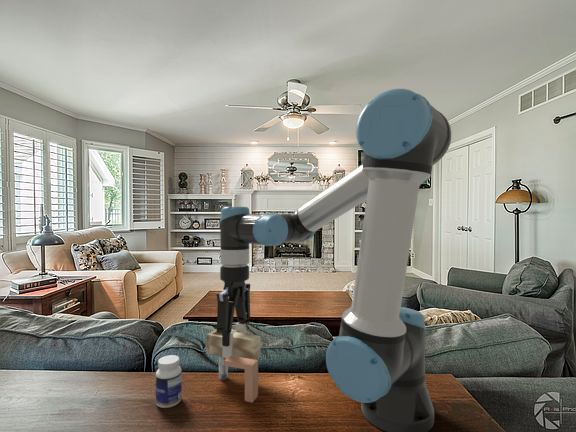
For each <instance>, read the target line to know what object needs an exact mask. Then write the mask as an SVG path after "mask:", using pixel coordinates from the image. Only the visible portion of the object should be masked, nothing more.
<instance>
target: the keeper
mask: <svg viewBox="0 0 576 432" xmlns="http://www.w3.org/2000/svg"><path fill="white" fill-rule="evenodd" d="M224 366H228V368H236V369H241V370H244V402H248V403H252V404H253V402H255V400H256V399H257V398H258V397H259V360H258V359H256V360H254V359H248V358H242V357H236V356H230V357H228V358H227V359H226V360H225V361H224Z"/></svg>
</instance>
